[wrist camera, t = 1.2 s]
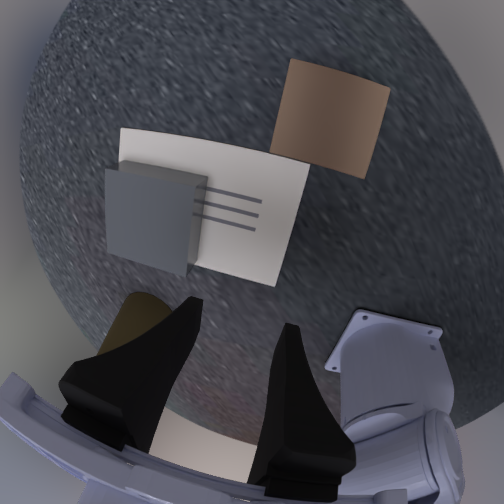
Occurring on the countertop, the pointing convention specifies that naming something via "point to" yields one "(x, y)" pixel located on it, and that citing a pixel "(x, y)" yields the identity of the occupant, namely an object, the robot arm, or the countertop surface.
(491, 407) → the countertop surface
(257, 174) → the letter
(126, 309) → the cork
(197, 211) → the metal block
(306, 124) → the walnut block
